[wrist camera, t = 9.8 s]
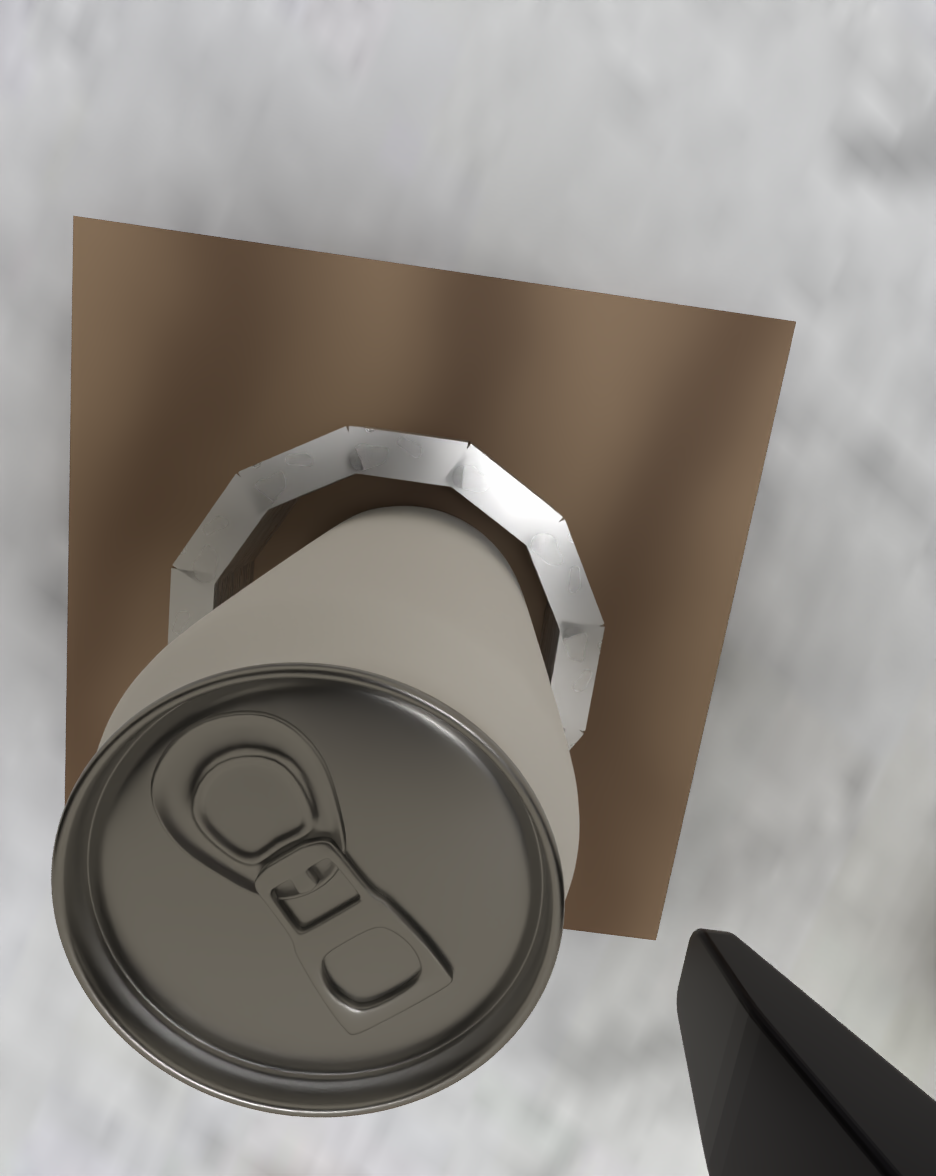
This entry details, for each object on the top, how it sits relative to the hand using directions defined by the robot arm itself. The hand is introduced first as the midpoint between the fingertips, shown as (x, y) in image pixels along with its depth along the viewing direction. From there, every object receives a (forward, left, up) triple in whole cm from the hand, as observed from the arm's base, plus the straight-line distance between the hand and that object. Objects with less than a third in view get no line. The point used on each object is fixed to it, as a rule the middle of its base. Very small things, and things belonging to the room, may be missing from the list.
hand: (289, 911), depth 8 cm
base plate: (0, 0, -13) cm, 13 cm away
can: (0, 0, -12) cm, 12 cm away
